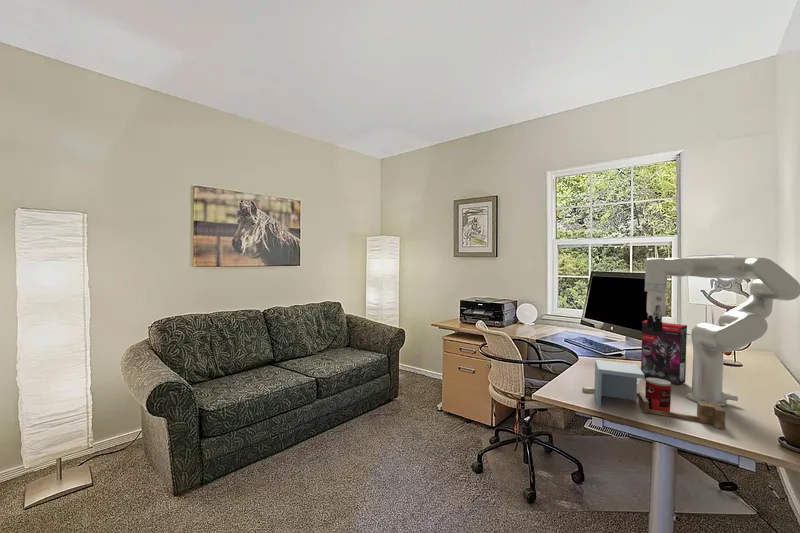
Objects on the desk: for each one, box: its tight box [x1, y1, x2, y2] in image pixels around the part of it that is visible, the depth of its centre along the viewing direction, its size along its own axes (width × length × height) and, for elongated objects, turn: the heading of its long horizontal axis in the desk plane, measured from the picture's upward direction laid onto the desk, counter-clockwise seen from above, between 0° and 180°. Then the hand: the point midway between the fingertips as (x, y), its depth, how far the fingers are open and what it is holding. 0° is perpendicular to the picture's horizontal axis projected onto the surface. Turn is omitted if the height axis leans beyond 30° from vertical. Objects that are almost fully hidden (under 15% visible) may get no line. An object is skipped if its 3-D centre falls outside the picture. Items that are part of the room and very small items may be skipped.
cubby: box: [593, 359, 645, 408], centre depth 147 cm, size 15×15×14 cm
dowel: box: [582, 386, 595, 394], centre depth 160 cm, size 12×2×2 cm, turn 90°
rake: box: [637, 392, 727, 430], centre depth 137 cm, size 23×15×6 cm, turn 66°
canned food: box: [644, 377, 672, 412], centre depth 142 cm, size 8×8×11 cm
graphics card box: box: [640, 319, 688, 385], centre depth 178 cm, size 17×7×27 cm, turn 32°
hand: (654, 329), depth 153 cm, fingers open, 9 cm apart
